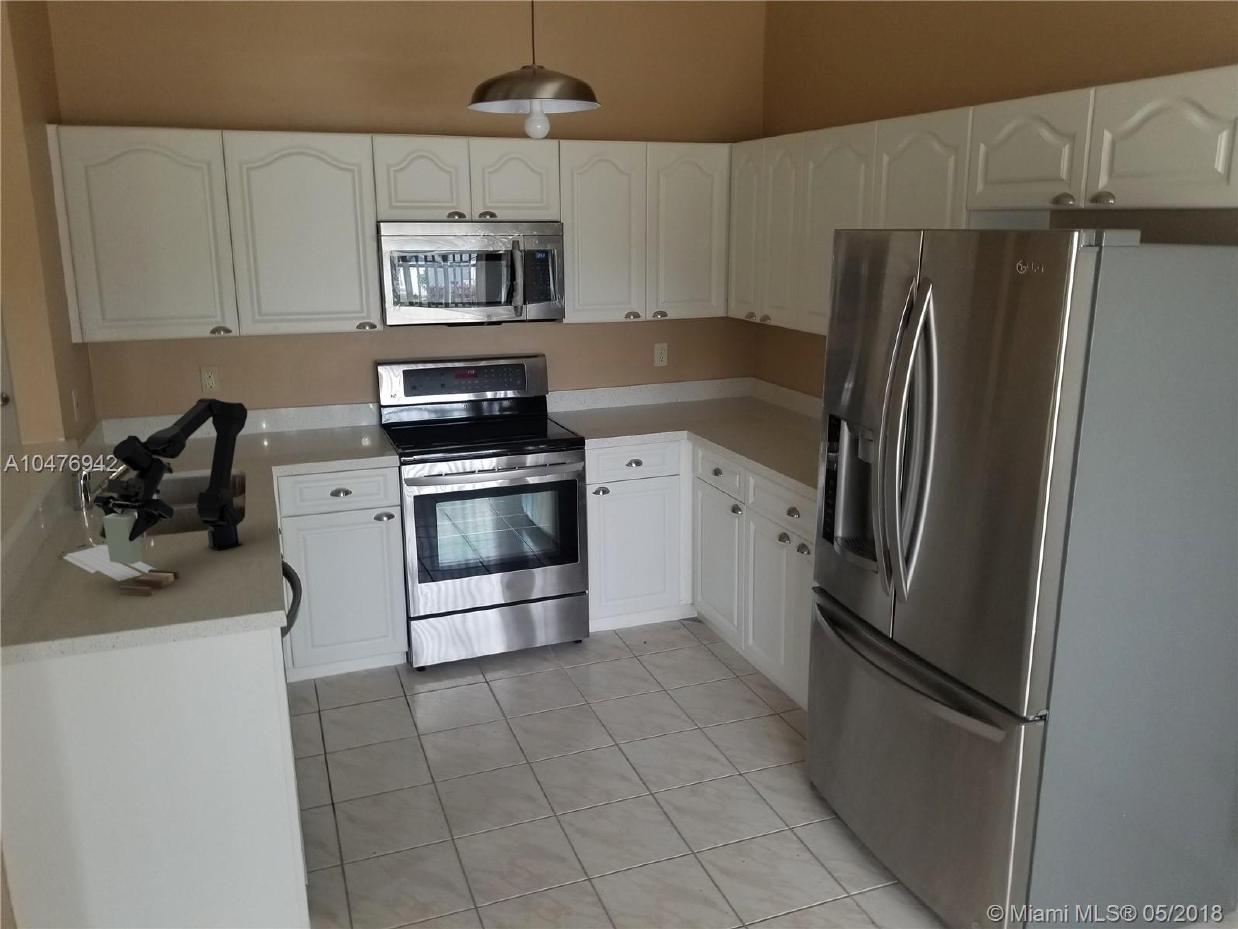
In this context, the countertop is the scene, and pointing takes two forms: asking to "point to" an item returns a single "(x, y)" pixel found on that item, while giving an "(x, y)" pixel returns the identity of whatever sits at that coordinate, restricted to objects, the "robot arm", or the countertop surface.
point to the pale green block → (121, 539)
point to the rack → (147, 584)
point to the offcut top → (157, 576)
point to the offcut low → (168, 580)
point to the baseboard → (104, 563)
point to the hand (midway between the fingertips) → (118, 539)
